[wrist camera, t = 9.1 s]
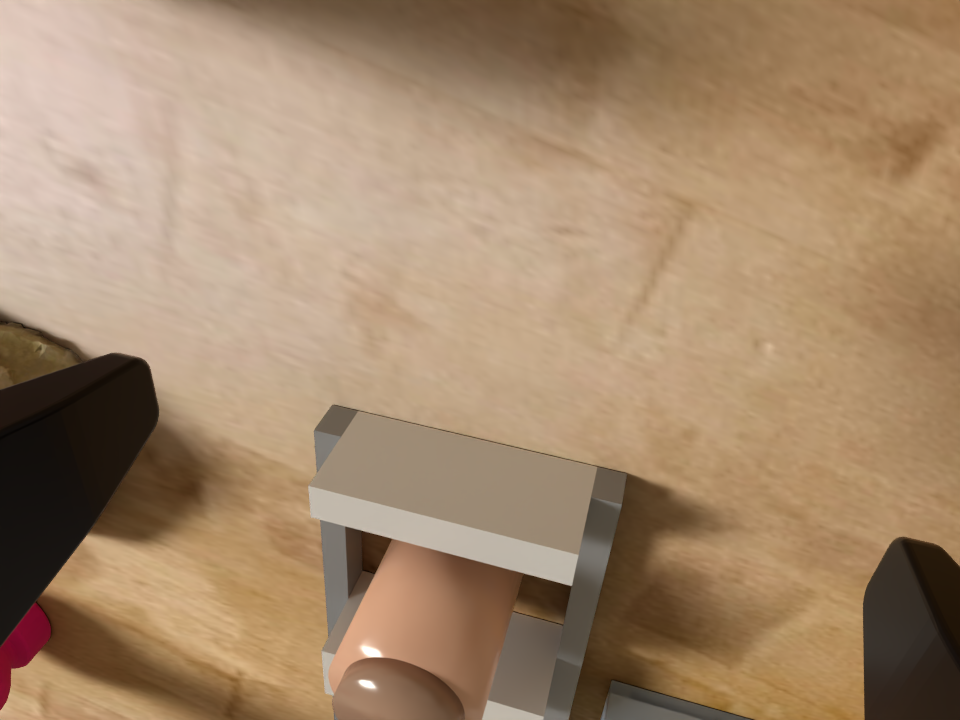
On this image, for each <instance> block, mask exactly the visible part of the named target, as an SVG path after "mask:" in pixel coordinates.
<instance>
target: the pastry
mask: <svg viewBox="0 0 960 720" xmlns="http://www.w3.org/2000/svg"><path fill="white" fill-rule="evenodd" d="M42 336H43V335H42V334H41V333H40V332H39V331H36V330H32V329H29V328H26V329H25V328H23V327H22V324H17V323H12V322H10V323H8V324H6V323H4V322H2V321H1V322H0V389H3V388H6V387H9V386H12V385H15V384H18V383H21V382H24V381H27V380H30V379H33V378H36V377H39V376H42V375H46V374H49V373H52V372H55V371H58V370H61V369H64V368H67V367H70V366H73V365H76V364H79V363H82V362H83V361H82V360H81V359H80V358H79V357H78V355H76V354H75V353H74V352H73V351H72V350H70V349H66V348H64V347H62V346H59V345H57V344H56V343H54V342H52V341H50V340H48V339H46V338H44V337H42Z"/></svg>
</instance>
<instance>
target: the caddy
mask: <svg viewBox="0 0 960 720" xmlns="http://www.w3.org/2000/svg"><path fill="white" fill-rule="evenodd" d="M314 437H315V452H316V466H317V474H316V475H315V477H314V478H313V480H312V481H311V483H310V484H309V486H308V487H309V500H310V512H311V517H312V518H316V519H320V523H321V537H322V551H323V565H324V580H325V594H326V608H327V622H328V636H329V637H328V639H327V641H326V643H325V645H324V647H323V649H322V662H323V674H324V687H325V693H327V694H330V695H333V696H334V693H333V691H332V689H331V686H330V683H329V678H328V671H329V667H330V664H331V662H332V660H333V658H334V656H335V654H336V652H337V650H338V648H339V646H340V644H341V642H342V640H343V638H344V636H345V634H346V632H347V630H348V628H349V626H350V624H351V622H352V620H353V618H354V616H355V614H356V612H357V610H358V608H359V606H360V604H361V602H362V600H363V597H364V595H365V593H366V591H367V589H368V587H369V585H370V583H371V581H372V579H373V577H374V575H375V574H373V573H369V572H366V571H363V565H362V531H365V532H369V533H373V534H376V535H380V536H384V537H388V538H392V539H395V540H399V541H403V542H407V543H411V544H414V545H418V546H422V547H426V548H430V549H433V550H437V551H441V552H445V553H449V554H452V555H456V556H460V557H464V558H467V559H471V560H475V561H479V562H483V563H486V564H490V565H494V566H498V567H502V568H505V569H509V570H513V571H517V572H521V573H524V574H528V575H532V576H536V577H540V578H543V579H547V580H551V581H555V582H558V583H562V584H566V585H570V586H572V587H571V592H570V597H569V601H568V606H567V611H566V615H565V620H564V625H559V624H556V623H552V622H548V621H545V620H541V619H537V618H534V617H530V616H526V615H523V614H519V613H515V612H513V613H512V616H511V620H510V623H509V627H508V630H507V634H506V637H505V641H504V644H503V648H502V651H501V655H500V658H499V662H498V665H497V669H496V672H495V676H494V679H493V683H492V686H491V690H490V693H489V697H488V700H487V704H486V707H485V711H484V714H483V718H482V720H568V719H569V715H570V711H571V707H572V703H573V699H574V695H575V691H576V687H577V683H578V679H579V675H580V671H581V667H582V663H583V659H584V655H585V651H586V647H587V643H588V639H589V635H590V631H591V627H592V623H593V619H594V615H595V611H596V607H597V603H598V599H599V595H600V591H601V587H602V583H603V579H604V575H605V571H606V567H607V563H608V559H609V555H610V551H611V547H612V543H613V539H614V535H615V531H616V527H617V523H618V519H619V515H620V511H621V507H622V502H623V496H624V489H625V483H626V477H627V474H626V473H622V472H618V471H613V470H609V469H605V468H601V467H596V466H592V465H588V464H583V463H579V462H575V461H571V460H566V459H562V458H558V457H553V456H549V455H545V454H541V453H536V452H532V451H528V450H524V449H519V448H515V447H511V446H506V445H502V444H498V443H494V442H489V441H485V440H481V439H476V438H472V437H468V436H464V435H459V434H455V433H451V432H447V431H442V430H438V429H434V428H429V427H425V426H421V425H417V424H412V423H408V422H404V421H399V420H395V419H391V418H387V417H382V416H378V415H374V414H370V413H365V412H361V411H357V410H352V409H348V408H344V407H340V406H335V405H332V406H331V407H330V409H329V410H328V412H327V413H326V414H325V416H324V417H323V419H322V420H321V421H320V423H319V424H318V425H317V427H316V428H315V430H314ZM334 720H338V719H337V717H336V715H335V713H334Z"/></svg>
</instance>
